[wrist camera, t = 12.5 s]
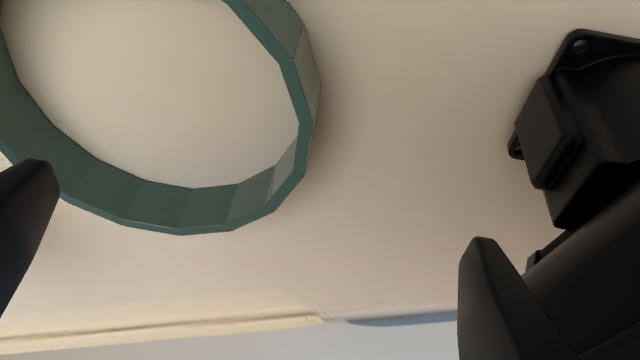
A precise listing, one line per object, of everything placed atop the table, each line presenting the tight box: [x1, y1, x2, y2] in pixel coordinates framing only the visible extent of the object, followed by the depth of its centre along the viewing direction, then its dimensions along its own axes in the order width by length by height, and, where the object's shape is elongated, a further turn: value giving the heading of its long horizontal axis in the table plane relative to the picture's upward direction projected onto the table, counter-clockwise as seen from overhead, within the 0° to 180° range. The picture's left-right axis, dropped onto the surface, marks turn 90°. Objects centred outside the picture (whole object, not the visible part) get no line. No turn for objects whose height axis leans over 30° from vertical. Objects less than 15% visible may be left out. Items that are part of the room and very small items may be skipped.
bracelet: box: [0, 0, 321, 236], centre depth 22 cm, size 15×15×3 cm
